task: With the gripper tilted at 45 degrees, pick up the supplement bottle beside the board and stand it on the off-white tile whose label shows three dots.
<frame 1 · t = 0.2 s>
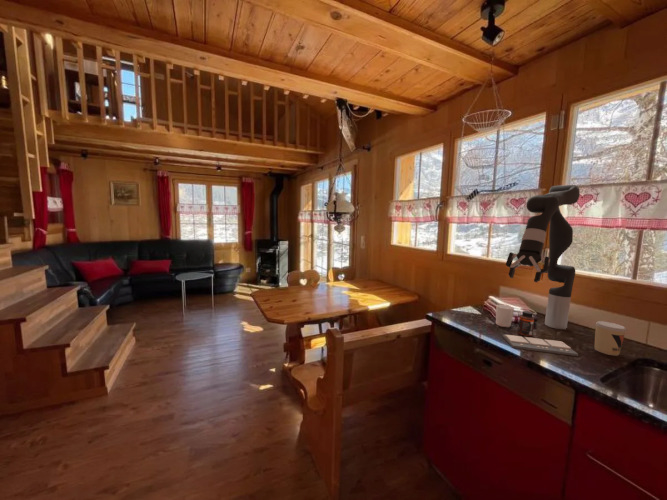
hand: (523, 279, 112), 31 cm above the worktop, tool tilted 20°, fingers open, 8 cm apart
white cup: (503, 325, 148), on the worktop
supplement bottle: (524, 334, 136), on the worktop
tile board: (537, 345, 123), on the worktop
coffee cup: (606, 351, 121), on the worktop
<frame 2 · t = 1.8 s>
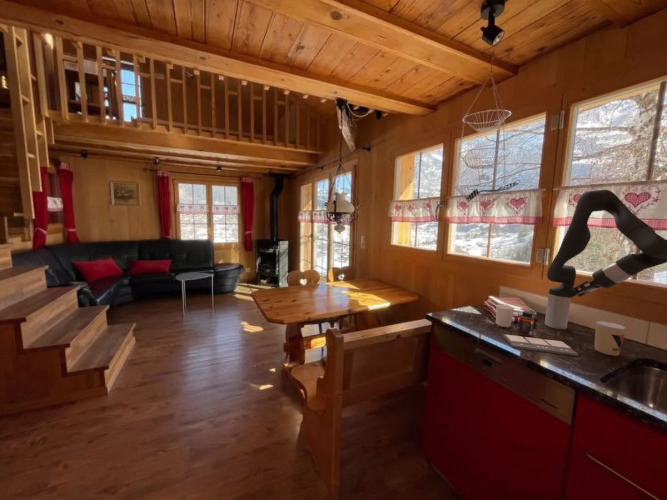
hand: (572, 295, 122), 23 cm above the worktop, tool tilted 45°, fingers open, 8 cm apart
nothing on the worktop moved.
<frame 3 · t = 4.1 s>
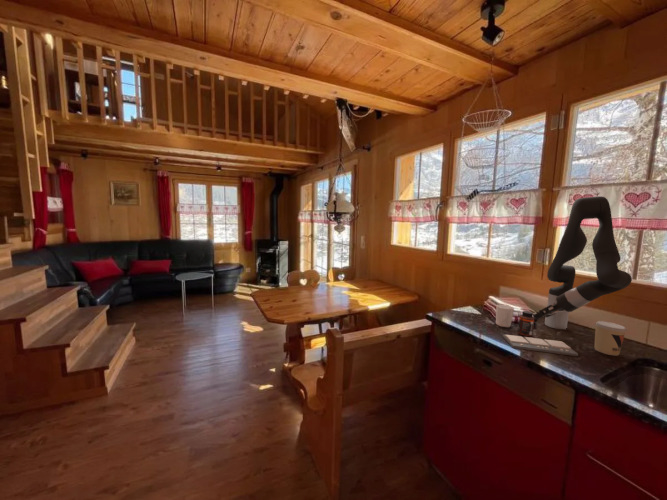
hand: (540, 316, 130), 11 cm above the worktop, tool tilted 45°, fingers open, 8 cm apart
nothing on the worktop moved.
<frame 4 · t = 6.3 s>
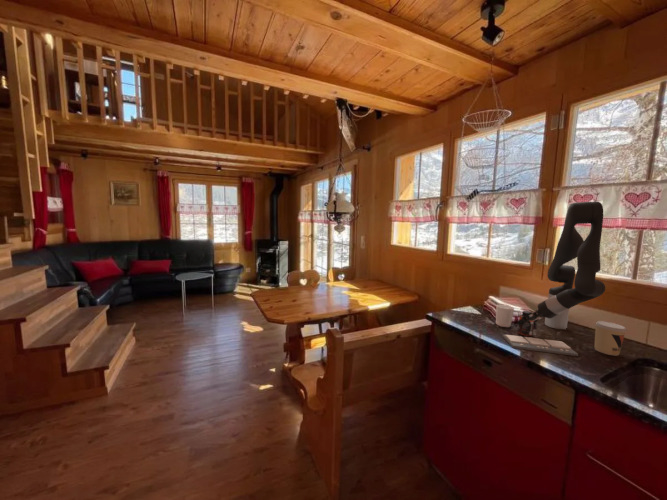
hand: (522, 322, 137), 5 cm above the worktop, tool tilted 45°, fingers closed on supplement bottle, 6 cm apart
supplement bottle: (524, 334, 136), on the worktop, touching gripper
everything else where it was.
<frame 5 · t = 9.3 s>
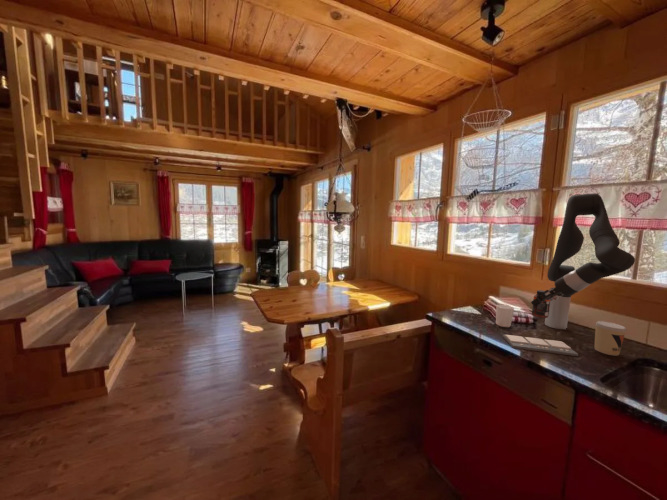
hand: (537, 303, 124), 18 cm above the worktop, tool tilted 45°, fingers closed on supplement bottle, 6 cm apart
supplement bottle: (539, 316, 123), point 13 cm above the worktop, touching gripper
everything else where it was.
when the fingers open (8 cm above the worktop, at t = 12.2 s): supplement bottle drops 1 cm, resting on tile board.
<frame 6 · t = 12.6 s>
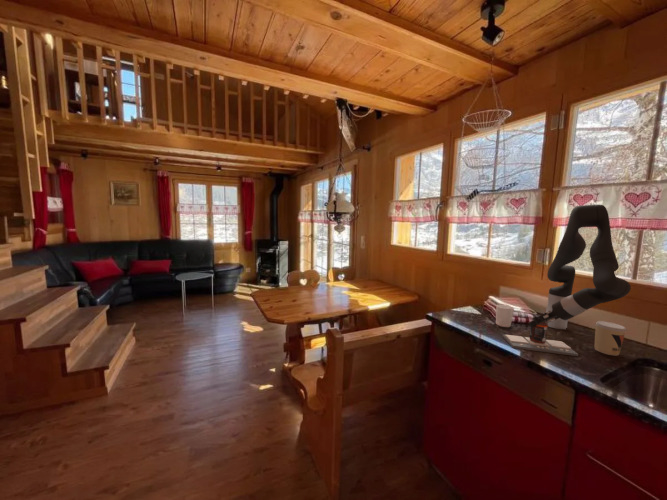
hand: (535, 324, 125), 9 cm above the worktop, tool tilted 45°, fingers open, 8 cm apart
supplement bottle: (537, 341, 124), point 1 cm above the worktop, touching tile board
everything else where it was.
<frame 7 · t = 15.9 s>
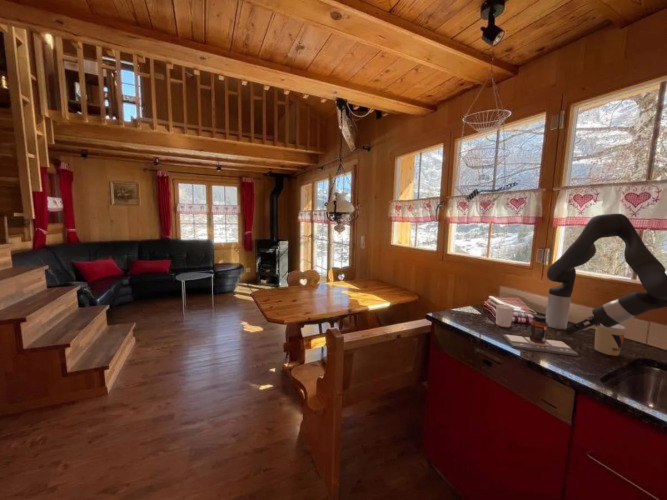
hand: (571, 330, 113), 11 cm above the worktop, tool tilted 45°, fingers open, 8 cm apart
nothing on the worktop moved.
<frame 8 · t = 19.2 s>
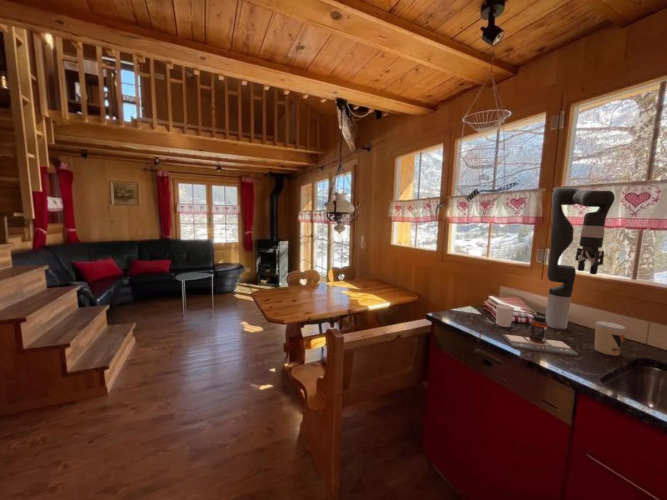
hand: (586, 272, 125), 33 cm above the worktop, tool pointing down, fingers open, 8 cm apart
nothing on the worktop moved.
at the end: supplement bottle 0.3 cm from the target spot on the tile board, point 1.4 cm above the tile board's base; supplement bottle tilted 0°; the gripper is holding nothing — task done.
